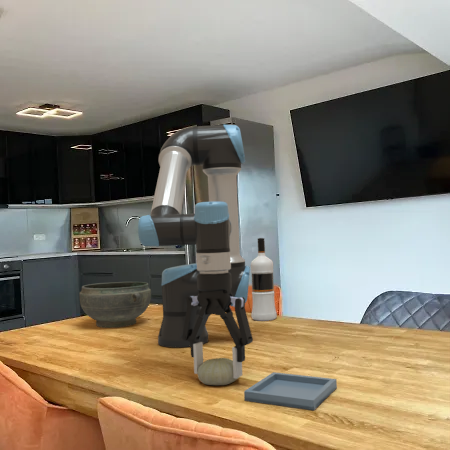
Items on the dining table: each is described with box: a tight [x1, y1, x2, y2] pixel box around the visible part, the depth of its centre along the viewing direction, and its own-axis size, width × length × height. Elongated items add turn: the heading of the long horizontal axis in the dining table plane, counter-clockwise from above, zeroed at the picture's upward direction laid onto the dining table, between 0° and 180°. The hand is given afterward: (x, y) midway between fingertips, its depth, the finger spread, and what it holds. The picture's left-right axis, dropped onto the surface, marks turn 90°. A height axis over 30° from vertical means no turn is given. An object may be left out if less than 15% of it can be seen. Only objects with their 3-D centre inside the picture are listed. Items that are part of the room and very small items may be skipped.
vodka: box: [250, 237, 278, 322], centre depth 187 cm, size 9×9×30 cm
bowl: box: [79, 281, 152, 329], centre depth 189 cm, size 32×26×15 cm
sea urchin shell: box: [196, 357, 239, 386], centre depth 111 cm, size 9×8×8 cm
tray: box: [243, 372, 338, 411], centre depth 100 cm, size 14×14×2 cm
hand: (218, 374), depth 111 cm, fingers closed on sea urchin shell, 9 cm apart
